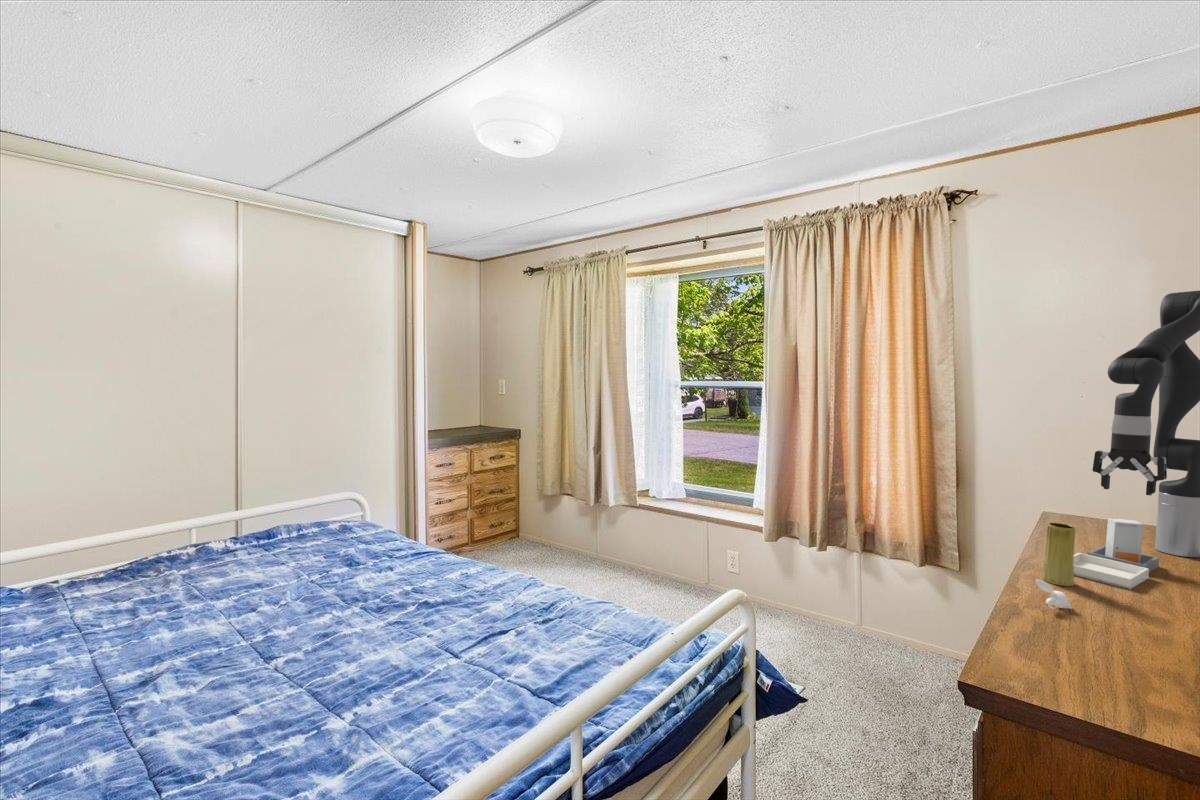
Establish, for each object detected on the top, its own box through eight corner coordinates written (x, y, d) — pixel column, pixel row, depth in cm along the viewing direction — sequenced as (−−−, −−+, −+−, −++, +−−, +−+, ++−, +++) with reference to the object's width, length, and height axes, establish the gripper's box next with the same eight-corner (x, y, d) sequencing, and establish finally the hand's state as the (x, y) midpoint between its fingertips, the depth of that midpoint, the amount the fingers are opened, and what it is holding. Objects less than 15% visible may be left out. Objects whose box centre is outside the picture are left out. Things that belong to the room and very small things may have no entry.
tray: (1078, 561, 150) (1078, 552, 150) (1148, 578, 138) (1149, 568, 138) (1057, 570, 142) (1058, 561, 142) (1129, 589, 131) (1130, 579, 130)
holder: (1102, 554, 156) (1102, 545, 156) (1158, 566, 146) (1159, 557, 146) (1086, 561, 150) (1087, 552, 150) (1144, 575, 140) (1145, 565, 140)
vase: (1080, 587, 132) (1083, 529, 131) (1051, 585, 133) (1054, 528, 132) (1064, 578, 138) (1067, 522, 137) (1036, 576, 139) (1039, 521, 138)
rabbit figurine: (1083, 614, 117) (1054, 598, 116) (1066, 622, 120) (1037, 607, 119) (1069, 590, 122) (1041, 575, 121) (1053, 598, 124) (1025, 584, 123)
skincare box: (1111, 565, 147) (1114, 521, 147) (1104, 560, 151) (1107, 517, 150) (1141, 568, 145) (1144, 524, 144) (1132, 563, 149) (1135, 520, 148)
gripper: (1172, 434, 142) (1168, 495, 143) (1101, 429, 154) (1097, 485, 155) (1164, 436, 138) (1159, 499, 139) (1091, 430, 150) (1087, 488, 151)
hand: (1127, 491), depth 147 cm, fingers open, 8 cm apart
